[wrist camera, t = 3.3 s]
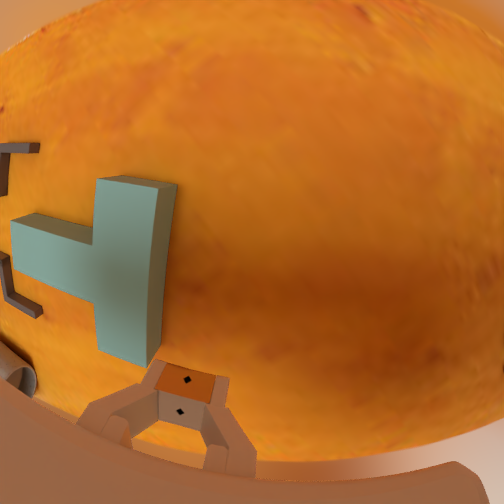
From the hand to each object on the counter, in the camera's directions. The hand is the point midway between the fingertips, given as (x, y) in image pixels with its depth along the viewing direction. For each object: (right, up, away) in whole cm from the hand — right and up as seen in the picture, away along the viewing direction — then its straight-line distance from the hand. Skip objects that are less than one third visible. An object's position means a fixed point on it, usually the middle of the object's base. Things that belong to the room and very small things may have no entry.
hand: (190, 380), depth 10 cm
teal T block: (-10, +5, +8) cm, 14 cm away
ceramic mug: (-29, -10, +15) cm, 34 cm away
